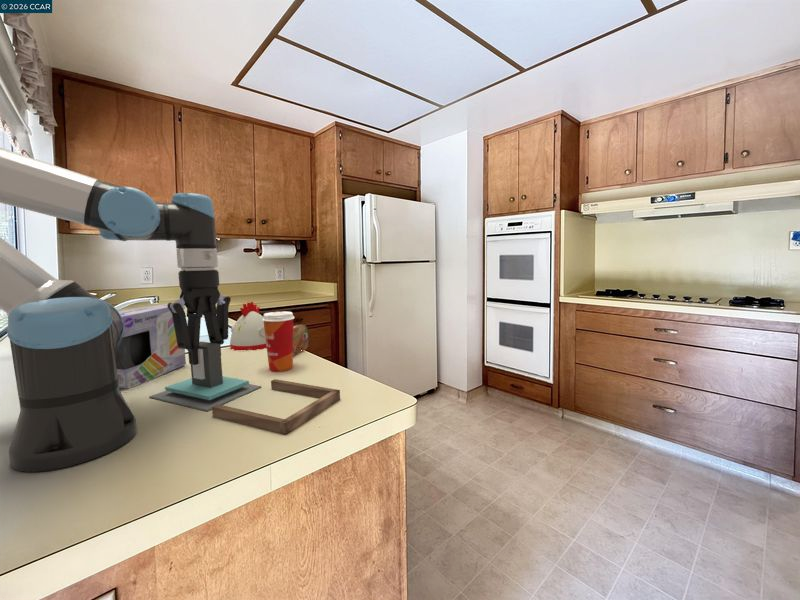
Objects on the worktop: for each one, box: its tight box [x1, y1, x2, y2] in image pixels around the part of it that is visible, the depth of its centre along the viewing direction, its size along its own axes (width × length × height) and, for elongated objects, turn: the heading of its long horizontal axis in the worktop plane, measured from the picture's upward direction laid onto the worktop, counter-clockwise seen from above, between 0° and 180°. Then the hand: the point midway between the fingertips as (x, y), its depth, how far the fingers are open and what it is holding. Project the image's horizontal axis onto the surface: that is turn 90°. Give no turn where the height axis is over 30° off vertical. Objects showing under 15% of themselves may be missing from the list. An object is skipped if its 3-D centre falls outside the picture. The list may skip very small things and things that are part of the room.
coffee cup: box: [262, 311, 295, 373], centre depth 96 cm, size 8×8×15 cm
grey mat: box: [149, 383, 262, 412], centre depth 80 cm, size 14×18×1 cm
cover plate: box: [164, 341, 250, 400], centre depth 79 cm, size 10×14×10 cm
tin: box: [293, 324, 310, 358], centre depth 112 cm, size 15×3×8 cm, turn 168°
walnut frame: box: [211, 378, 341, 435], centre depth 72 cm, size 16×18×2 cm
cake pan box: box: [115, 302, 187, 390], centre depth 91 cm, size 19×5×18 cm, turn 170°
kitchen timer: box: [229, 301, 267, 351], centre depth 122 cm, size 14×14×15 cm
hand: (207, 375), depth 80 cm, fingers closed on cover plate, 3 cm apart
